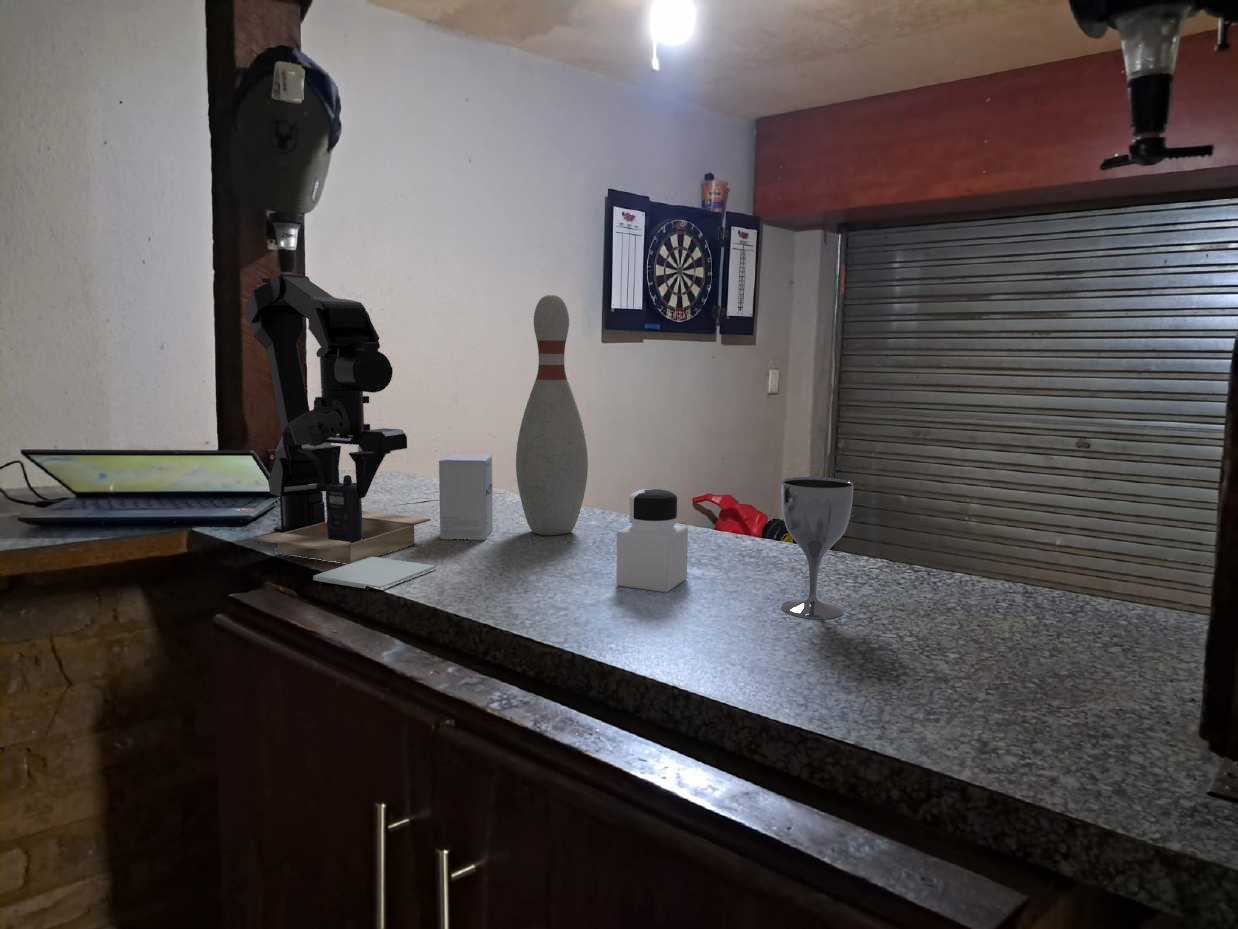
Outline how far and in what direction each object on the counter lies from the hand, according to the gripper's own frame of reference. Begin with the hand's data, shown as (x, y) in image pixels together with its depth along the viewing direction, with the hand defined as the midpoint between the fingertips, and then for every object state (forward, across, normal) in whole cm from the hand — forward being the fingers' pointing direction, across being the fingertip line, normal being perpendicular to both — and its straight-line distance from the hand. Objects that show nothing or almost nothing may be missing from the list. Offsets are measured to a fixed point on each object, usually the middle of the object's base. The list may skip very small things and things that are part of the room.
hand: (346, 496), depth 123 cm
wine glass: (+8, +68, +2) cm, 69 cm away
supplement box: (+8, +10, +16) cm, 21 cm away
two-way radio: (+8, 0, 0) cm, 8 cm away
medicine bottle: (+8, +47, +4) cm, 48 cm away
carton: (+8, 0, 0) cm, 8 cm away
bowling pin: (+8, +21, +24) cm, 33 cm away
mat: (+8, +13, -9) cm, 18 cm away
